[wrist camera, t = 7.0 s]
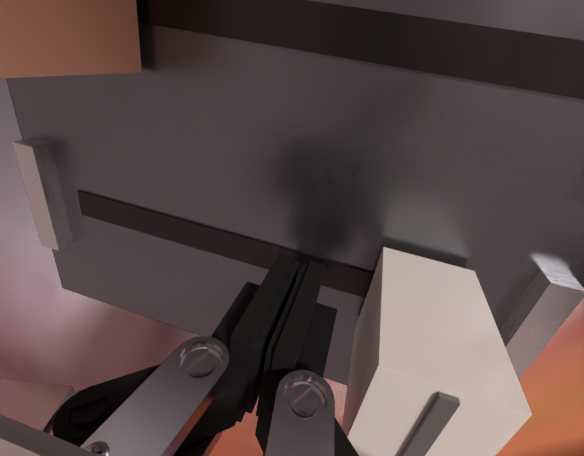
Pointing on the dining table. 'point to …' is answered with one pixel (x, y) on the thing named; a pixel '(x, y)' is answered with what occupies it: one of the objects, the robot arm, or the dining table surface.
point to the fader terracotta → (68, 38)
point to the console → (319, 157)
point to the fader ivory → (429, 366)
